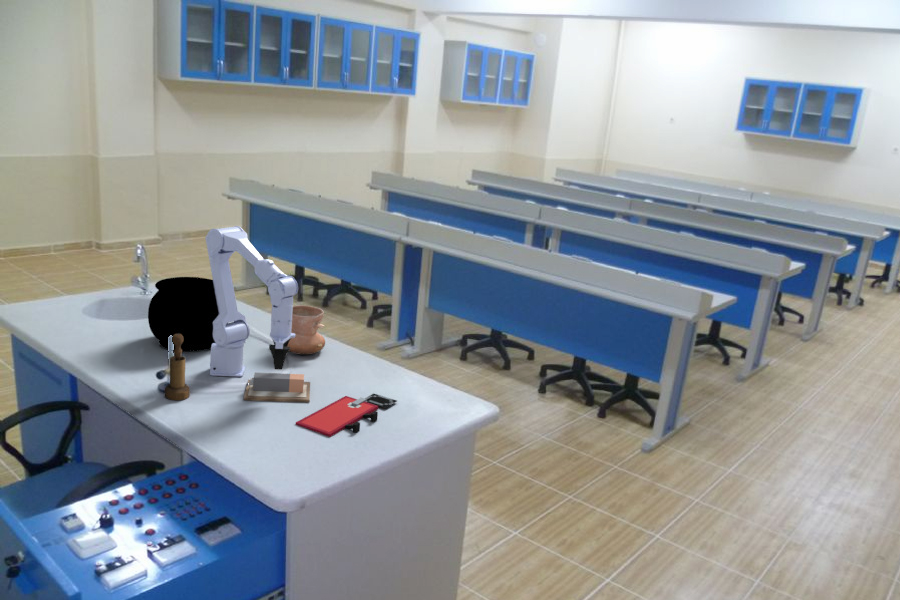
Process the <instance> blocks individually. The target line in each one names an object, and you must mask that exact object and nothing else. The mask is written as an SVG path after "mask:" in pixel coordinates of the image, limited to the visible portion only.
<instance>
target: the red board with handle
mask: <svg viewBox="0 0 900 600" xmlns="http://www.w3.org/2000/svg"><path fill="white" fill-rule="evenodd" d="M397 402H398V400H397V399H394V398H391V397H388V396H387V397H386V396H383V395H381V394H377V393H372V394H370V395H368V396H366V397H365V398H364V397H359V398H358V399H357V398H354V397H351V396H348V395H345V396H343V397H341V398H339V399H337V400H335V401H334V402H332V403H329V404H328V405H326V406H324V407H321V408H320V409H318V410H316V411H314V412H313V413H311V414H309V415H307V416H305V417H302V419H300V420H298V421H296V422H295V426H296V425H297V426H298V427H302V428H305V429H307V430H309V431H312V432H315V433H318V434H320V435H323V436H326V437H329V438H331V437H332V436H335V435H336V434H338V433H339V432H341V431H343V430H344V429H345V430H346V429H347V430H352V433H354V434H357V433H359V432H360V430H361V428H360V427H361V422H360V421H361V420H362V419H370V423H375V422H377V421H378V411H377V410H379V407H381V408H384V409H386V408H389V407H390V406H392V405H393V404H395V403H397Z"/></svg>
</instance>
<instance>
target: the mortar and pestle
mask: <svg viewBox="0 0 900 600" xmlns="http://www.w3.org/2000/svg"><path fill="white" fill-rule="evenodd" d="M183 340H184V338H183V336H182V335H181V334H174V335H173V337H172V342H173V344H174V345H175V349H174V350H172V352H173V356H170V357H169V384H168V385H166V386H165V387H164V398H165V399H168V400H171V401H182V400H186V399H189V398H190V393H191V391H190V390H191V389H190V386H189V385H187V383H186V357H185V356H182V354H183V353H182V349H181V344H182V343H183Z"/></svg>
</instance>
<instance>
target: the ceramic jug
mask: <svg viewBox="0 0 900 600" xmlns="http://www.w3.org/2000/svg"><path fill="white" fill-rule="evenodd" d="M324 313H325V312H324V310H323V309H322V308H319V307H314V306H310V305H302V304H301V305H300V304H299V305H293V310H292V328H291V333H295V338H291V339H290V341H289V343H288V345H287V347H290V349H289V351H288V352H289V353H291V354H292V353H293V354H296V355H297V354H298V355H313V354H316V353H318V352H320V351H322V350H323V349H324V347H325V345H326V340H325V337H324V336H323V335H321V334H320V333H319V332H317V331H318V329H320V330H323V328H325V327H326V326H325V325H324V324H322V323H321V322H322V321H323V318H324Z"/></svg>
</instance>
